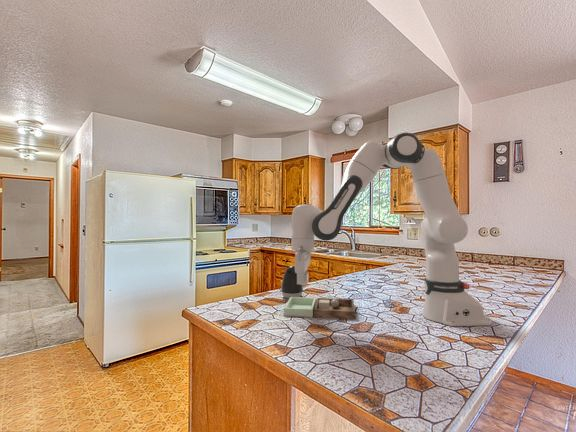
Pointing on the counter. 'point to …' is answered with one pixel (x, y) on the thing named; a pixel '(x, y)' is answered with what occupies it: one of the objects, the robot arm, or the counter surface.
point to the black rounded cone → (291, 284)
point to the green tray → (300, 306)
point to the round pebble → (334, 303)
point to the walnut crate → (336, 309)
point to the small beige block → (304, 279)
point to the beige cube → (324, 304)
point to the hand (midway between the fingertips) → (302, 280)
